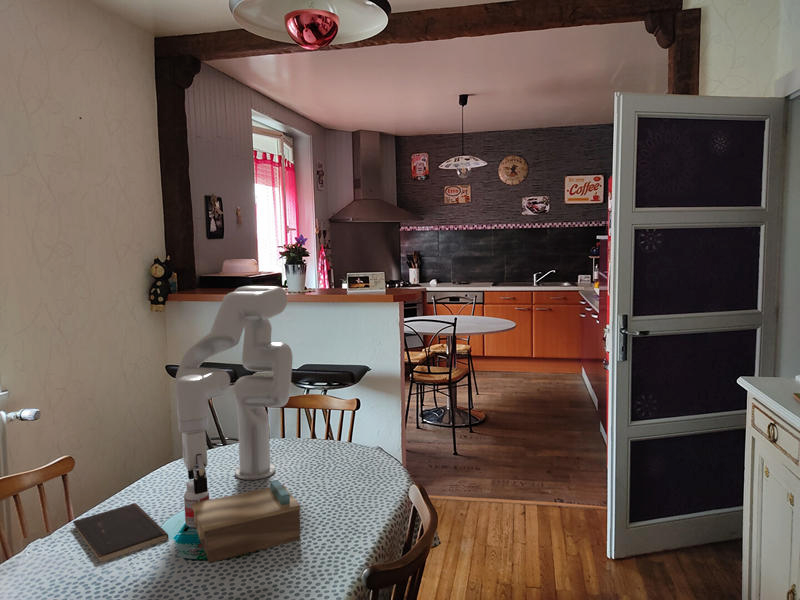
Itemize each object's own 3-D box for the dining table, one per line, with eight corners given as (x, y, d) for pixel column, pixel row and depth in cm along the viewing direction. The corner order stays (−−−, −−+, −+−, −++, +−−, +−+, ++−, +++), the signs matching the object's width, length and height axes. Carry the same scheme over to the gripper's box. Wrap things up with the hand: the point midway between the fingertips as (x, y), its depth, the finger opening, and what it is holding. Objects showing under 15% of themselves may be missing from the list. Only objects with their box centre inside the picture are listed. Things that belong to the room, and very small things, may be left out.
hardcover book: (99, 565, 133) (98, 556, 133) (73, 529, 150) (72, 521, 150) (168, 541, 144) (168, 532, 144) (137, 510, 161) (137, 502, 161)
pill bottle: (208, 515, 156) (206, 476, 155) (211, 525, 151) (210, 484, 150) (184, 520, 154) (182, 480, 153) (186, 530, 148) (184, 489, 147)
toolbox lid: (192, 519, 144) (191, 493, 143) (283, 499, 155) (282, 475, 154) (202, 545, 131) (201, 517, 131) (300, 521, 142) (299, 495, 142)
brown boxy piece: (199, 538, 144) (197, 507, 143) (284, 517, 155) (283, 489, 154) (208, 563, 133) (207, 530, 132) (300, 539, 143) (299, 508, 143)
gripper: (173, 415, 155) (178, 475, 158) (183, 436, 140) (188, 502, 143) (202, 411, 159) (206, 469, 161) (215, 430, 144) (219, 495, 146)
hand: (197, 485), depth 152 cm, fingers open, 9 cm apart
